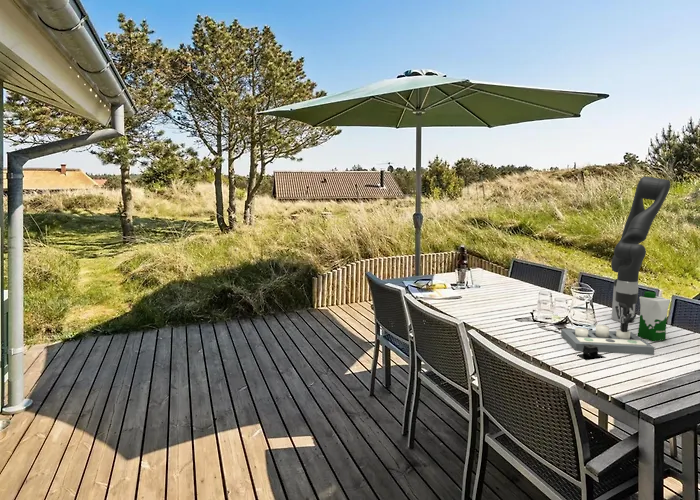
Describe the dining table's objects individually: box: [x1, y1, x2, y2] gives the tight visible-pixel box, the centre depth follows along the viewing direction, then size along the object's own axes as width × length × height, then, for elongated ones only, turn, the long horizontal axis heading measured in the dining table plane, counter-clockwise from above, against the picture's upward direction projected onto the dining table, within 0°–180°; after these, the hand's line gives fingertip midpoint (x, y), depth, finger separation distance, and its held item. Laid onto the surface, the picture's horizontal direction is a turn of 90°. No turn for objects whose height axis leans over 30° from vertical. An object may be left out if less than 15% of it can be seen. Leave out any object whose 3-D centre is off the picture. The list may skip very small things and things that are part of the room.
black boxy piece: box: [576, 345, 607, 361], centre depth 152 cm, size 12×7×5 cm, turn 104°
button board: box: [560, 328, 656, 356], centre depth 164 cm, size 18×28×3 cm, turn 79°
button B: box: [595, 324, 610, 338], centre depth 166 cm, size 5×5×5 cm
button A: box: [615, 328, 631, 339], centre depth 164 cm, size 5×5×5 cm
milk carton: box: [636, 290, 671, 343], centre depth 169 cm, size 9×9×20 cm
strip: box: [576, 337, 647, 346], centre depth 159 cm, size 5×24×1 cm, turn 79°
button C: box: [574, 327, 589, 337], centre depth 168 cm, size 5×5×5 cm
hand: (623, 331), depth 164 cm, fingers closed
